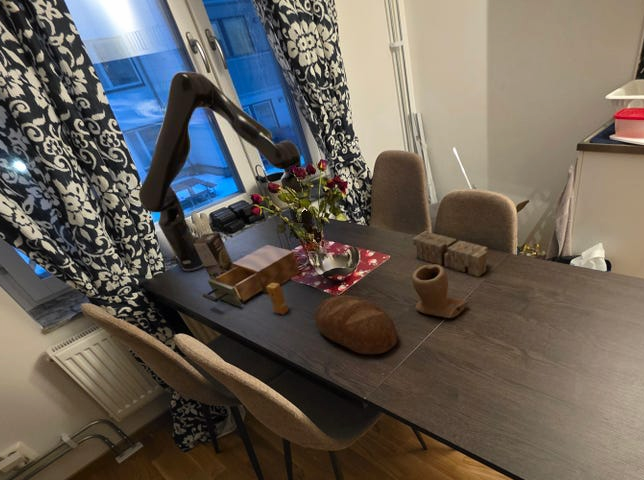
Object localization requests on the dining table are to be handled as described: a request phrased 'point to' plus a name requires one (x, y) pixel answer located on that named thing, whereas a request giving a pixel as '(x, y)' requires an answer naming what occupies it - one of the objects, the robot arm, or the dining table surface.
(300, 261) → the dining table surface
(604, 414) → the dining table surface
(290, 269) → the cabinet
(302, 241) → the snack carton
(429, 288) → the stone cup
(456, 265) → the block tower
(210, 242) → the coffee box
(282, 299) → the supplement box
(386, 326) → the bread
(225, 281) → the drawer
